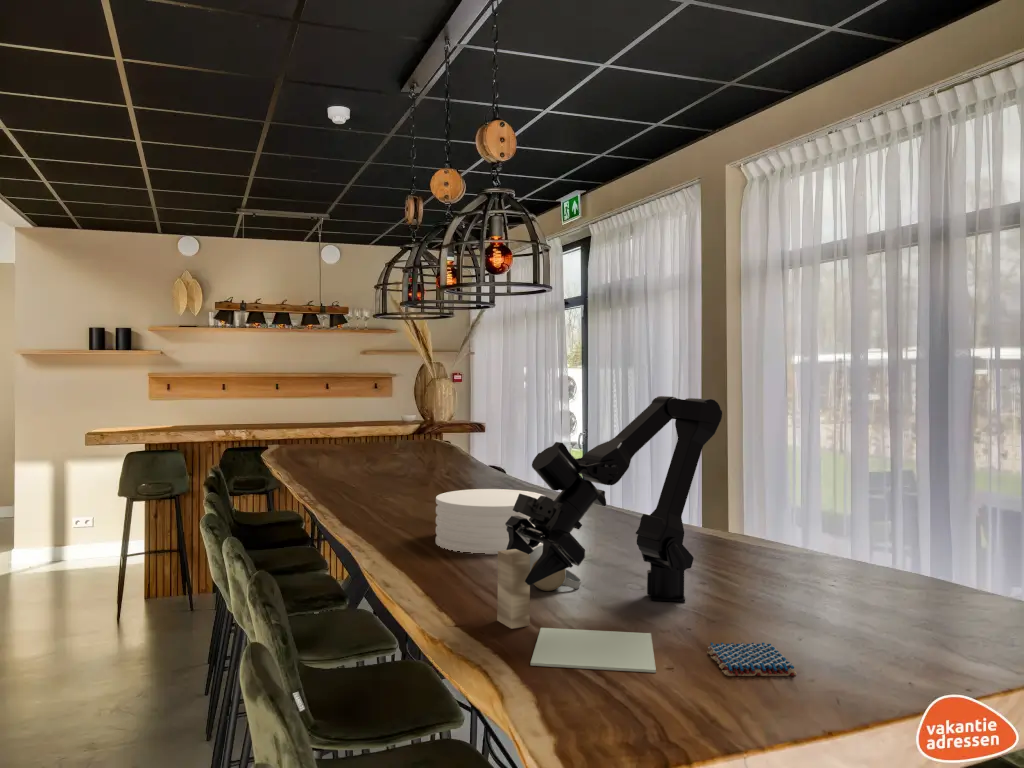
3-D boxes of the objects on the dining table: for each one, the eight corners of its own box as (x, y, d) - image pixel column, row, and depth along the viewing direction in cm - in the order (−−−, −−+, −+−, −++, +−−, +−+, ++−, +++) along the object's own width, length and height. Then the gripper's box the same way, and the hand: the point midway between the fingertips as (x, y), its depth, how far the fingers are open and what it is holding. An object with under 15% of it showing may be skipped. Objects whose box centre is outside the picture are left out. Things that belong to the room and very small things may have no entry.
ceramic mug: (529, 592, 153) (530, 553, 152) (526, 581, 161) (527, 544, 161) (583, 593, 153) (584, 554, 153) (578, 582, 161) (579, 545, 161)
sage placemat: (650, 635, 128) (650, 633, 128) (655, 672, 112) (655, 669, 112) (540, 630, 130) (540, 627, 130) (530, 665, 114) (530, 662, 114)
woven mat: (771, 653, 122) (772, 640, 122) (798, 680, 111) (799, 666, 111) (705, 653, 121) (705, 640, 121) (725, 680, 111) (725, 666, 111)
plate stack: (419, 550, 189) (419, 503, 189) (455, 528, 216) (455, 487, 216) (533, 558, 182) (533, 508, 182) (555, 534, 209) (556, 491, 209)
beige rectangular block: (515, 617, 137) (515, 548, 137) (529, 625, 133) (530, 554, 132) (497, 620, 135) (497, 551, 135) (511, 628, 131) (512, 557, 131)
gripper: (515, 471, 144) (460, 536, 139) (571, 484, 128) (511, 558, 123) (551, 511, 148) (498, 575, 143) (609, 528, 132) (553, 602, 127)
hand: (513, 577), depth 134 cm, fingers open, 9 cm apart
